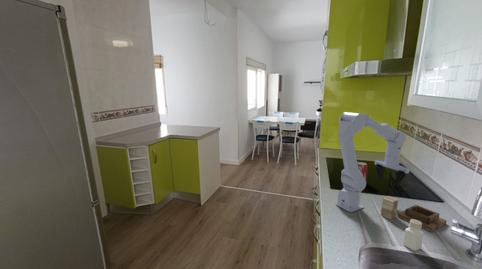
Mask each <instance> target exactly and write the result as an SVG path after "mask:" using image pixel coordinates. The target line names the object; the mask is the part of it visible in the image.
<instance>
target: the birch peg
mask: <svg viewBox="0 0 482 269" xmlns="http://www.w3.org/2000/svg"><path fill="white" fill-rule="evenodd" d="M398 204H399V199H397V198H394V197H392V196H390V195H387V196H385V197H382V202H381V209H380V210H381V211H380V216H382V217H384V218H386V219H388V220H391V221H392V220H393V219H395V218H396V217H397V214H398V213H397V211H398Z"/></svg>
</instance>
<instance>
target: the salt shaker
mask: <svg viewBox="0 0 482 269" xmlns="http://www.w3.org/2000/svg"><path fill="white" fill-rule="evenodd" d="M408 224H409V225H408V227H406V228H405V230H404V234H403V235H404V236H403V241H402V242H403V243H402V244H403V245H404V247H406V248H408V249H410V250H412V251H414V252H417V251H418V250H420V249H421V250H422V246H423V245H422V244H423V240H424V232H423V231H422V230H421V229H422V228H421V227H422V223H421V222H420V221H418V220H415V219H411V220H410V222H409V223H408Z"/></svg>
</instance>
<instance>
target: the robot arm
mask: <svg viewBox="0 0 482 269" xmlns="http://www.w3.org/2000/svg"><path fill="white" fill-rule="evenodd" d="M338 123H339V126H338V127H339V128H338V132H337V134H338V141H339V145H340V151H341V156H342V162H343V167H344V168H343V169H342V170H341V172H340V173H341V177H340V180H341V183H342V187H343V188H342V189H341V190H339V192H338V193H337V203H335V205H336V206H337V207H339V208H342V209H343V210H345V211H347V212H349V213H353V212H356V211H359V210H361V209H363V208H364V206H363V205H361V204H360V203H361V193H362V192H363V190H365V188H366V186H367V179H366V180H365V179H364V177H363V174H362V173H361V172H360V170H359V169H358V165H357V162H358V159H357V154H356V148H355V142H354V136H355V135H356V134H358V133H359V132H360V131H361V130H363V128H365V127H368V128H370V129H372V130H374V132H375V134H376V135H378V136H379V137H381V138H383V139H384V140H385V141H386V150H385V153H384V154H385V155H384V161H381V160H374V165H375V166H374V169H375V171H376V172H377V177H378V181H383V180H384V174H385V170H386V168H387V169H391V170H395V183H394V184H395V187H400V185H401V183H402V181H403V179H405V177H406V176H407V175H408V174H409V173H410V168H408V167H405V166H402V165H400V160H401V159H400V158H401V154H402V153H401V152H402V148H403V147H404V144H405V142H406V141H407V135H406V133H405V132H404V131H399V130H397V128H396V127H392V126H390V124H389V123H387V122H383V123H380V122H378V121H377V120H375V119H373V118H372V117H370V116H369V115H368V114H365V113H362V112H361V113H358V112H350V111H344V112H343V113H342V114H341V115H340V117H339V118H338Z"/></svg>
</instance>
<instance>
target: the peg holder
mask: <svg viewBox="0 0 482 269" xmlns="http://www.w3.org/2000/svg"><path fill="white" fill-rule="evenodd" d="M396 217H398V218H399V219H402V220H404V221H406V222H408V223H410V220H411V219H415V220H418V221H420V222H421V223H422V227H421V229H423V230H426V231H427V232H430V233H432V232H434V231H436V230H438V229H439V228H441V227H443V226H445V225H446V224H447V221H448V220H447V219H444V218H441V217H440V213H439V212H436V211H433V210H431V209H429V208H426V207H423V206H421V205H418V204H414V205H411V206H410V207H408V208H405V210H402V211H400V212H398V213H396Z"/></svg>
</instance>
